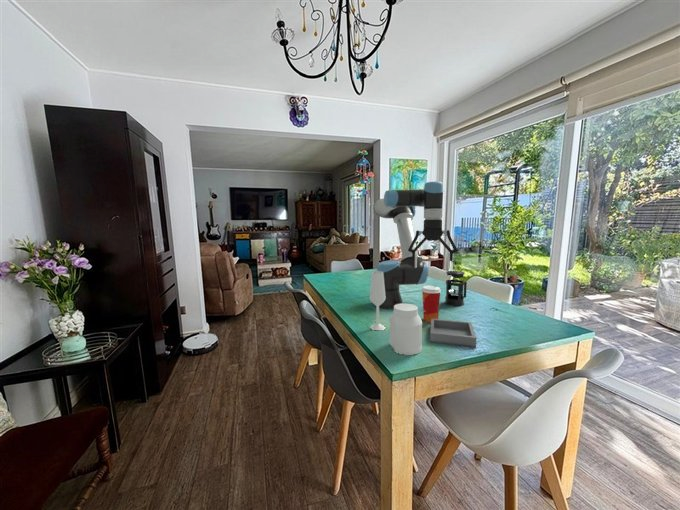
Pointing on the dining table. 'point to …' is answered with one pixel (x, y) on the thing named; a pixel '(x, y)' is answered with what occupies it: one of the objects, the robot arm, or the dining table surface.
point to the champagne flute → (377, 295)
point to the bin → (452, 332)
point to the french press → (454, 298)
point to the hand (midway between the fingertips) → (431, 268)
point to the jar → (406, 329)
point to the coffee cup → (430, 302)
